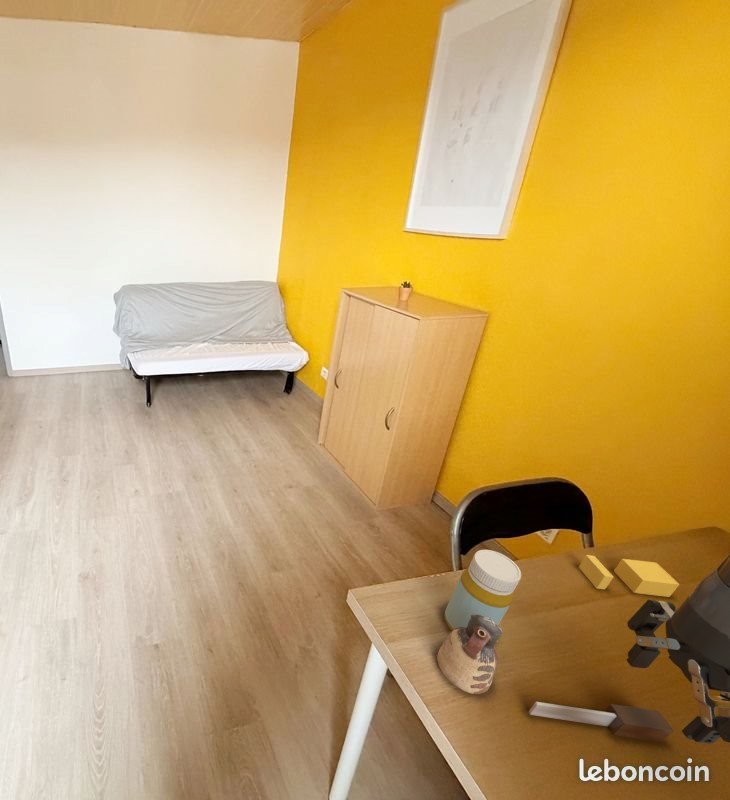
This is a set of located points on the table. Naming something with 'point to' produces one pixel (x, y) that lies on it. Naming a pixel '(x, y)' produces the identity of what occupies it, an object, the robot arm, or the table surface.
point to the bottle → (483, 589)
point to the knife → (612, 719)
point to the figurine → (471, 655)
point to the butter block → (646, 577)
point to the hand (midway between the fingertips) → (662, 698)
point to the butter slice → (595, 572)
